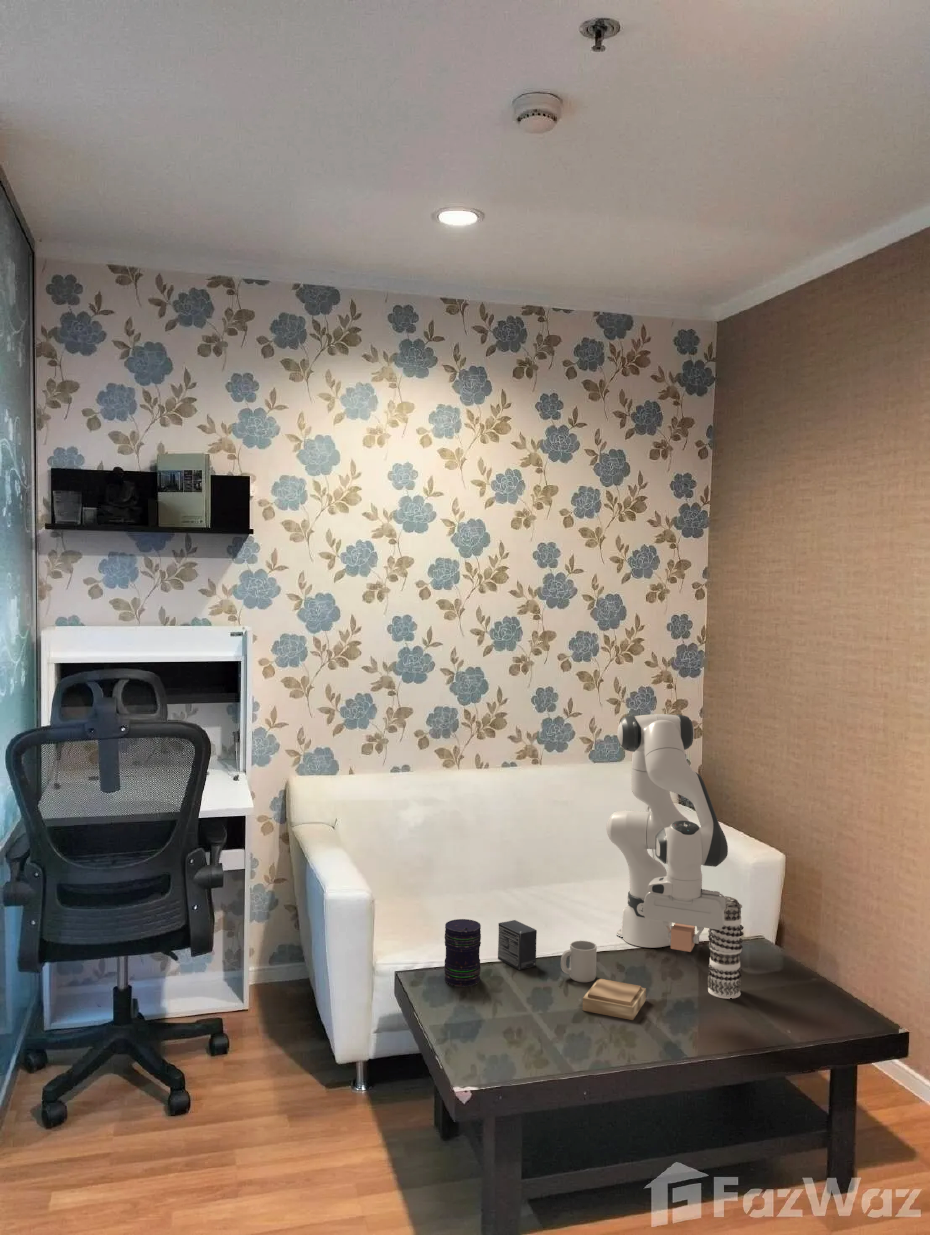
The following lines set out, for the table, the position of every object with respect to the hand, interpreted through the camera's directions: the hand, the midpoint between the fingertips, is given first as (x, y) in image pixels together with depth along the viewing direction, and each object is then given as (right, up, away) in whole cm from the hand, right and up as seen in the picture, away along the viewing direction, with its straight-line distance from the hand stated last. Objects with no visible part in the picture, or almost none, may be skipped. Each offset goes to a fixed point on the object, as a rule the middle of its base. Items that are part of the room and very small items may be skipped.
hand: (682, 940), depth 255 cm
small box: (-40, -16, +31) cm, 53 cm away
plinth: (-17, -18, +3) cm, 25 cm away
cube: (0, -2, 0) cm, 2 cm away
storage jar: (-56, -17, +18) cm, 61 cm away
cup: (-24, -17, +20) cm, 36 cm away
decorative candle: (+14, -18, +12) cm, 25 cm away
